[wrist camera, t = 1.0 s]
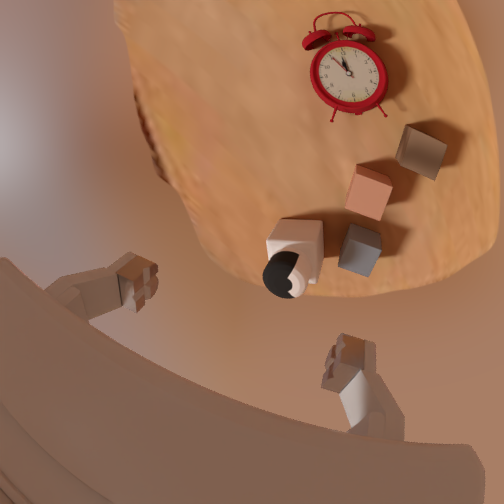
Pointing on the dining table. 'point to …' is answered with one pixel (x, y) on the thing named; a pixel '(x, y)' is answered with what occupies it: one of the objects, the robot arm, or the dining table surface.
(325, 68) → the alarm clock
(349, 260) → the slate-grey block
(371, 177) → the terracotta block
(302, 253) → the medicine bottle
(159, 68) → the dining table surface
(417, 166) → the walnut block
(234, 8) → the dining table surface
